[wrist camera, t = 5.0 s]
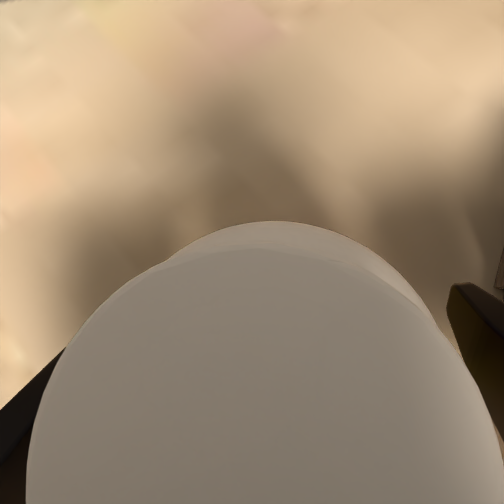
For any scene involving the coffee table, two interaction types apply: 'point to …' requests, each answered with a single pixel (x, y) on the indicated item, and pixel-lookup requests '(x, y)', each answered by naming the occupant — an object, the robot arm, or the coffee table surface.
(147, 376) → the supplement bottle
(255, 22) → the coffee table surface
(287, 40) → the coffee table surface
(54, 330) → the coffee table surface
